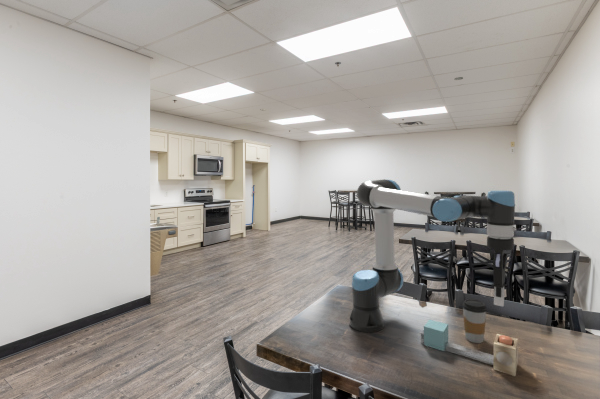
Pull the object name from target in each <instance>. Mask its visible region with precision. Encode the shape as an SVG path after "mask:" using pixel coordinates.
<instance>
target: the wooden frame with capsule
mask: <svg viewBox="0 0 600 399" xmlns="http://www.w3.org/2000/svg"><path fill="white" fill-rule="evenodd" d="M501 335H502V334H499V333H496V334H495V338H494V342H493V355H494V359H493V365H492V366H493V370H494V371H498V372H501V373H504V374H506V375H508V376H509V375H510V376H512V377H516V376H517V369H518V359H519V358H518V347H519V346H518V345H519V344H518V343H519V342H518V341H519V339H518V338H517V337H511V336H509V337H510V338H512V346H510V345H507V344H503V343H499V336H501Z"/></svg>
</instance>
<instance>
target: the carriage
mask: <svg viewBox="0 0 600 399" xmlns="http://www.w3.org/2000/svg"><path fill="white" fill-rule="evenodd" d="M423 330H424V344H423V345H424V346H426V347H430V348H433V349H435V350H438V351H443V352H445V344H446V342H449V323H445V322H441V321H437V320H433V319H428V320H427V322H426V323H425V324H424V325H423Z"/></svg>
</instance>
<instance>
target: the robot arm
mask: <svg viewBox="0 0 600 399" xmlns="http://www.w3.org/2000/svg"><path fill="white" fill-rule="evenodd" d="M356 196H357V199H358V201H359V202H360V203H361V204H362V205H364V206H366V207H370V209H371V211H373V213H374V216H373V217H374V244H375V246H374V247H375V250H374V251H375V252H374V254H375V262H374V263H373V264H372V269H365V270H364V269H361V270H358V271H357V272H355V273H354V274H353V275H352V278H351V279H352V280H351V281H352V282H351V288H352V289H351V290H352V309H351V312H350V316H349V318H348V319H349V320H348V321H349V326H350V327H351V328H352V329H353V330H356V331H357V332H362V333H376V332H379V331H381V330H382V329H384V328H385V320H384V316H383V314H382V312H381V309H380V299H381V298H384V297H386V296H389V295H393V294H395V293H396V292H398V291H400V290H401V288H402V287H403V284H404V275H403V273H402V272H401V270H400V269H399V266H398V265H397V264H396V263H395V235H394V234H395V232H394V231H395V230H394V229H395V227H394V223H395V222H394V212H395V211H396V210H398V211H404V212H408V213H414V214H418V215H423V216H428V217H433V218H435V219H437V220H438V221H440V222H447V223H448V222H453V221H456V220H462V219H467V218H483V219H486V220H487V222H486V225H487V226H486V235H487V237H486V246H487V248H489V249H491V250H494V251H493V253H492V254H491V255H492V256H491V259H492V266H493V267H492V268H493V271H492V272H493V275H492V276H493V283H492V284H491V287H493V305H495V306H499V307H501V308H502V307H504V306H505V287H507V286H508V285H507V283H505V282H506V266H507V260H508V253H506V251H508V252H509V251H513V250H514V249H515V248H514V247H515V246H514V245H515V239H514V238H513V237H514V236H515V231H517V228H516V227H515V212H516V211H515V210H516V209H515V208H516V203H515V202H516V201H515V193H514V192H513V191H511V190H489V191H487V195H483V196H479V195H466V194H462V195H454V196H453V197H447V196H439V195H433V194H425V193H419V192H413V191H407V190H401V186H400V184H398V183H397V182H396V181H395V180H392V179H385V178H384V179H374V180H372V179H370V180H365V181H364V182H362V183H361V184H359V186H358V188H357V190H356Z"/></svg>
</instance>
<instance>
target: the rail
mask: <svg viewBox="0 0 600 399" xmlns="http://www.w3.org/2000/svg"><path fill="white" fill-rule="evenodd" d="M420 340H421V341H420V343H421V344H422V345H424V329H423V330H422V331H421V333H420ZM445 351H446V352H449V353H452V354H455V355H458V356H461V357H466V358H468V359H471V360H475V361H478V362H481V363H485V364H487V365H492V366H493V359H494V354H491V353H488V352H485V351H480V350H477V349H473V348H470V347H466V346H463V345H459V344H456V343H453V342H449V341H448V342H446V344H445V350H444V352H445Z"/></svg>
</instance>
